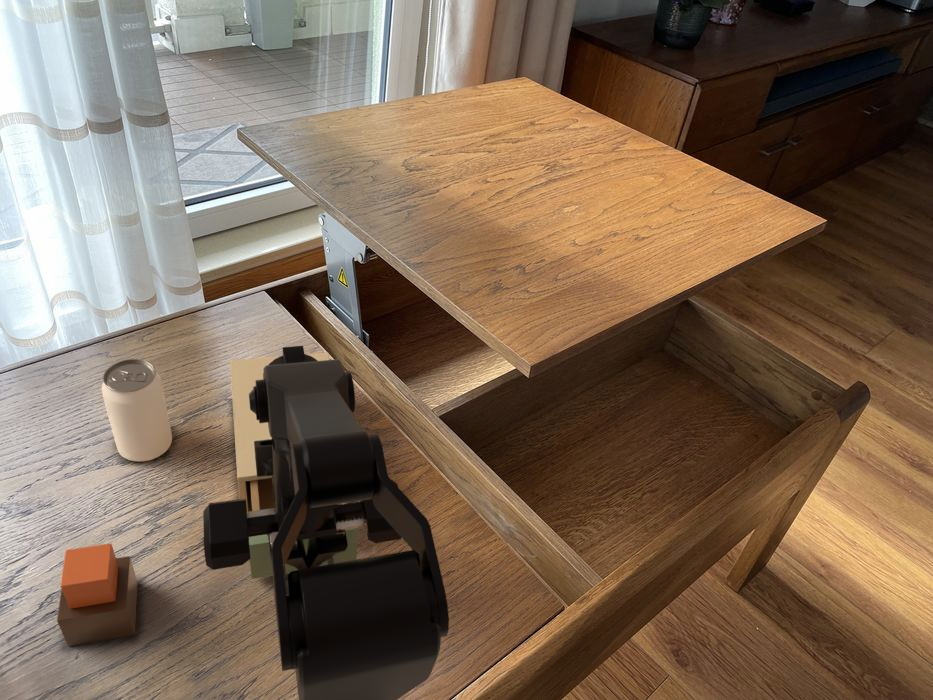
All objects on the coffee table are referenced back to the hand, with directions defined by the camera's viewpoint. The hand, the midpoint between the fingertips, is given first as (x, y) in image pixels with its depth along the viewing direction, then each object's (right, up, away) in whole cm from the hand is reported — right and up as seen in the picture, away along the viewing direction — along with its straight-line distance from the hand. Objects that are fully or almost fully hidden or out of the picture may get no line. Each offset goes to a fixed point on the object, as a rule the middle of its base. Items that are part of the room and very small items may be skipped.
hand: (307, 568), depth 75 cm
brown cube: (-21, -4, -1) cm, 21 cm away
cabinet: (-6, +10, +18) cm, 21 cm away
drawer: (-3, +3, +9) cm, 10 cm away
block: (-20, 0, -4) cm, 20 cm away
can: (-24, +11, +16) cm, 31 cm away
